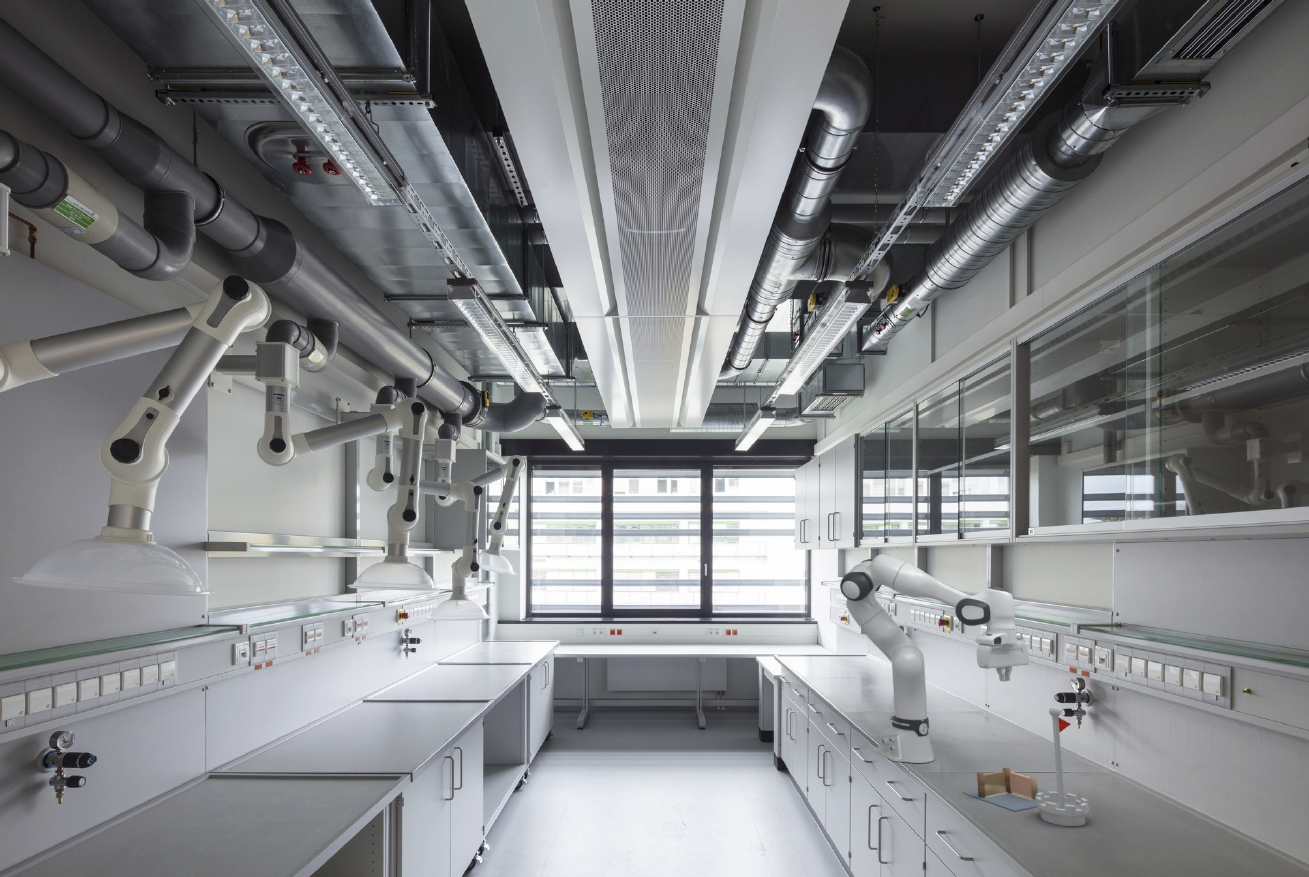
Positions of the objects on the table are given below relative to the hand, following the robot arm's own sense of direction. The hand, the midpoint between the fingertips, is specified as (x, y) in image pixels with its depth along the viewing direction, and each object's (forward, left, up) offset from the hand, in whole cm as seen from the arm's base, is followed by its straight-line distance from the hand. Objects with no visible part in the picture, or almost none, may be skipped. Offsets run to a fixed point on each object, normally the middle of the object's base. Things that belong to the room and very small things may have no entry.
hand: (1004, 680), depth 255 cm
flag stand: (+31, -17, -31) cm, 47 cm away
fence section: (+14, -11, -30) cm, 35 cm away
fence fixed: (+8, -16, -31) cm, 36 cm away
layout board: (+11, -12, -31) cm, 35 cm away
